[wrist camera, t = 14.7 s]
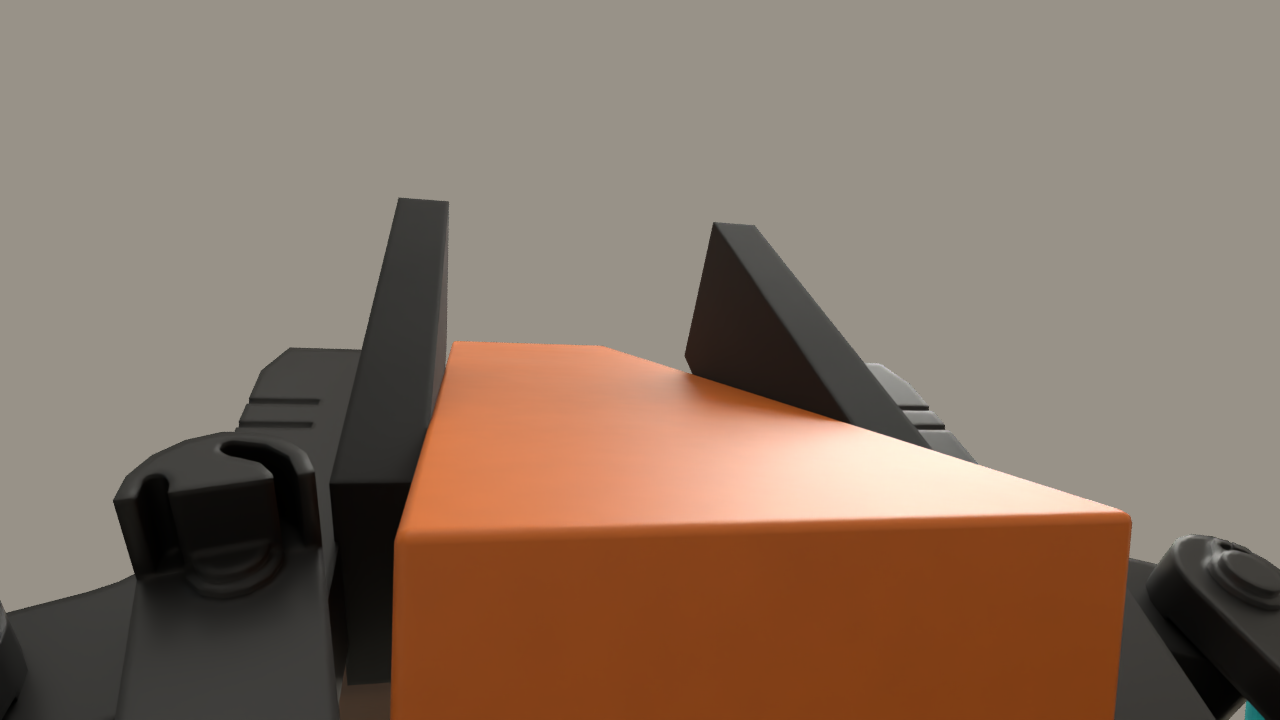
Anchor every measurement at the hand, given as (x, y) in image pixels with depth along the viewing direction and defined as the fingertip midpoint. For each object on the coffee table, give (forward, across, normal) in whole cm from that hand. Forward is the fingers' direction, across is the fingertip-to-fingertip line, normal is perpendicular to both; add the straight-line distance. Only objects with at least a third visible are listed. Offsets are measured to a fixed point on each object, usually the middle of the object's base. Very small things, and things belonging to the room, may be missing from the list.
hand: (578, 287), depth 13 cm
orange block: (-2, 0, -4) cm, 4 cm away
